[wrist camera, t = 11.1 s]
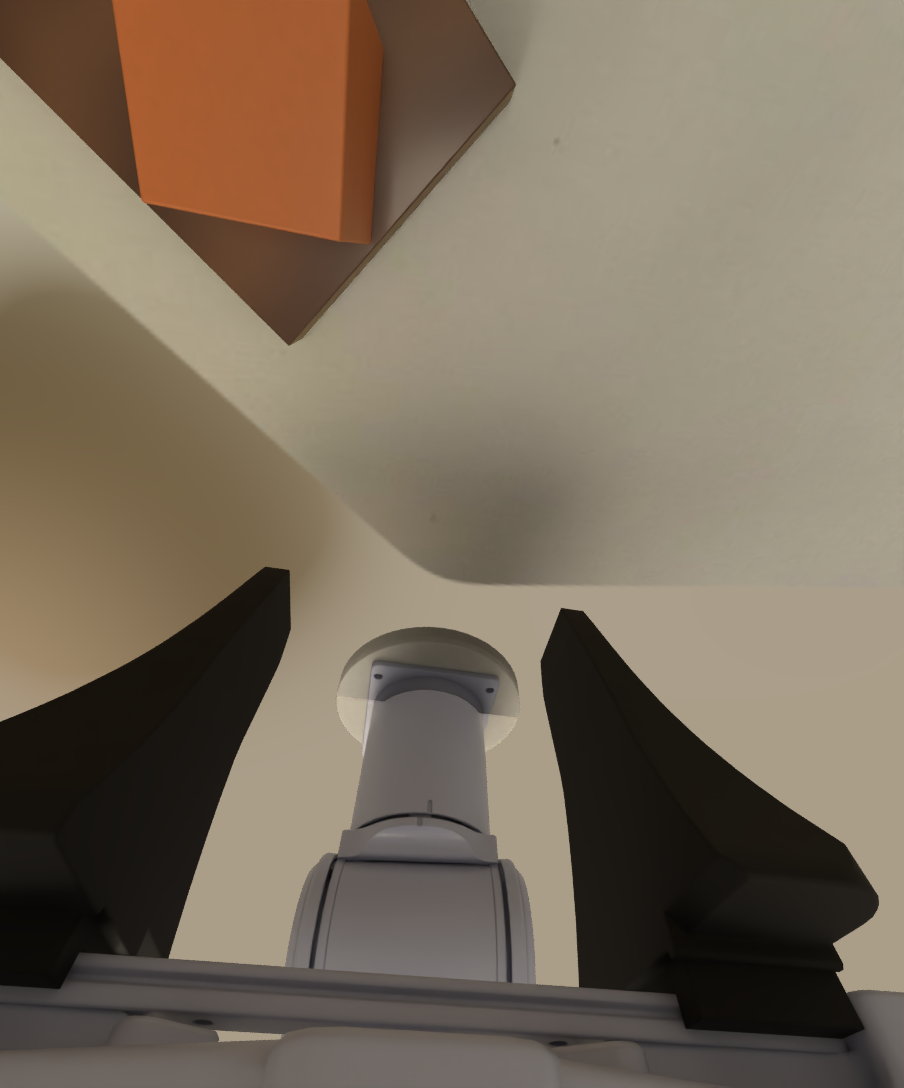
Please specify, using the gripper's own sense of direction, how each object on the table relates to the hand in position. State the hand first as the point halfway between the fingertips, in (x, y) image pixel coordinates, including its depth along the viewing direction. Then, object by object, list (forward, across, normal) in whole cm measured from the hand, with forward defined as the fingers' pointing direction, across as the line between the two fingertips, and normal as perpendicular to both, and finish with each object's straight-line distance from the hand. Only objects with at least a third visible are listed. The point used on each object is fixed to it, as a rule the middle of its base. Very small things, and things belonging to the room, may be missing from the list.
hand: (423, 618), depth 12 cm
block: (+8, +6, -10) cm, 14 cm away
